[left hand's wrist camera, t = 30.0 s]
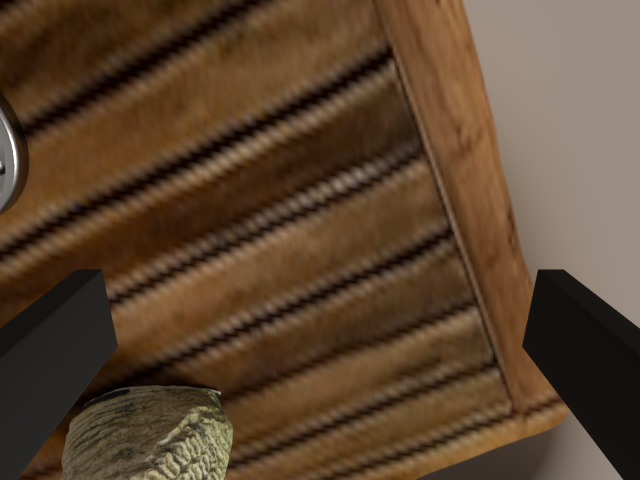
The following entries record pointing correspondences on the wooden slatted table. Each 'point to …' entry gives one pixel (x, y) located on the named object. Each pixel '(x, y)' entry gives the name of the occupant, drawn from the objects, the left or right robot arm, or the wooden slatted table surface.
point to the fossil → (149, 436)
